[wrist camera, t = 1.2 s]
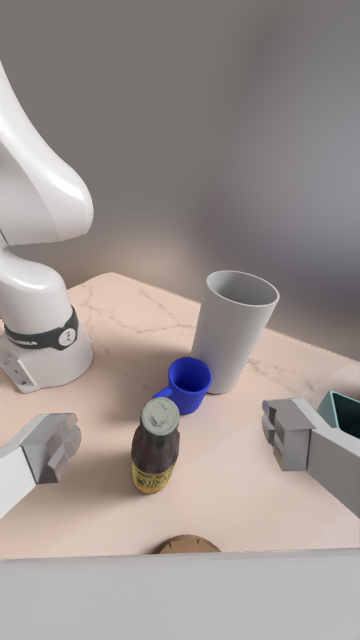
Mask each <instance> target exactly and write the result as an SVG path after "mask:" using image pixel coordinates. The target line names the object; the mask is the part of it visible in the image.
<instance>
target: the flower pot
mask: <svg viewBox="0 0 360 640" xmlns="http://www.w3.org/2000/svg"><path fill="white" fill-rule="evenodd" d="M317 413H318V414H319V415H320V416H321V417H322V418H323V420H324V421H325V422H326V423H327V424H328V425H329V426H330V427H331V428H337V429H339V430H341V431H343V432H345V433H347V434H349V435H351V436H353V437H355V438H357V439H359V440H360V401H357V400H355V399H352V398H350V397H347V396H345V395H342V394H340V393H337V392H335V391H332V390H330V391H329V392H328V394H327V395H326V397H325V398H324V399H323V401H322V402H321V404H320V405H319V408H318V411H317Z"/></svg>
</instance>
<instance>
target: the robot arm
mask: <svg viewBox="0 0 360 640" xmlns="http://www.w3.org/2000/svg"><path fill="white" fill-rule="evenodd" d="M92 220H93V203H92V199H91V196H90V193H89V191H88V189H87V187H86V185H85V183H84V182H83V181H82V179H81V178H80V176H79V175H78V174H77V173H76V172H75V171H74V170H73V169H72V168H71V167H70V166H69V165H67V164H66V163H65V162H64V161H63V160H62V159H60V158H59V157H58V156H57V155H56V154H55V153H54V152H53V150H51V148H50V147H49V146H48V145H47V144H46V142H45V141H44V140H43V139H42V138H41V136H40V135H39V134H38V132H37V131H36V129H35V128H34V127H33V126H32V124H31V122H30V121H29V119H28V118H27V116H26V114H25V112H24V111H23V109H22V108H21V105H20V104H19V102H18V100H17V98H16V96H15V94H14V92H13V90H12V88H11V85H10V83H9V81H8V79H7V76H6V74H5V71H4V69H3V66H2V64H1V61H0V317H1V318H0V319H2V320H3V321H2V322H4V328H5V332H4V333H3V334H2V335H1V336H0V346H1V348H0V367H1V368H2V369H3V371H4V372H5V373H6V374H7V375H8V377H9V378H10V379H11V380H12V382H13V383H14V384H15V385H16V386H17V388H18V389H19V390H20V391H21V392H22V393H29V392H32V391H35V390H38V389H40V388H47V387H56V386H60V385H63V384H66V383H69V382H71V381H73V380H75V379H76V378H78V377H79V376H81V375H82V374H83V373H84V372H85V371H86V370H87V369H88V368H89V366H90V365H91V363H92V360H93V350H92V347H91V345H92V341H93V339H92V337H91V336H90V335H87V333H86V330H85V328H84V326H83V323H82V321H81V320H80V319H78V316H77V313H76V311H75V309H74V307H73V306H72V305H71V303H70V300H69V297H68V293H67V290H66V287H65V284H64V281H63V279H62V277H61V276H60V275H59V274H58V273H57V272H56V271H55V270H53V269H51V268H50V267H47V266H45V265H43V264H40V263H36V262H32V261H28V260H25V259H22V258H19V257H17V256H15V255H14V254H12V253H10V252H9V251H8V250H7V249H6V248H5V247H7V246H9V245H20V244H33V243H46V242H58V241H63V240H67V239H70V238H74V237H77V236H80V235H84V234H86V233H87V231H88V230H89V228H90V226H91V224H92ZM25 383H26V384H25ZM23 384H24V385H23ZM262 409H263V410H264V412H265V414H264V416H263V417H262V425H263V431H264V434H265V437H266V439H267V441H268V443H269V444H271V445H272V446H273V447H274V455H275V457H276V459H277V461H278V463H279V465H280V467H281V469H282V471H307V473H309V474H310V475H311V476H312V477H313V478H314V479H315V480H316V481H318V482H319V483H320V484H321V485H322V486H323V487H324V488H326V489H327V490H328V491H329V492H330V493H331V494H332V495H333V496H335V497H336V498H337V499H338V500H339V501H340V502H341V503H342V504H344V505H345V506H346V507H347V508H348V509H349V510H350V511H352V512H353V513H354V514H355V515H356V516H357V517H358V518H359V519H360V440H359V439H357V438H355V437H353V436H351V435H349V434H347V433H345V432H343V431H341V430H339V429H337V428H331V427H330V426H329V425H328V424H327V423H326V422H325V421H324V420H323V418H322V417H321V416H320V415H319V414H318V413H317V412H316V411H315V410H314V409H313V408H312V407H311V406H310V405H309V404H308V403H307V401H306V400H305V399H304V398H302V397H294V398H288V399H287V398H286V399H272V400H263V405H262ZM76 422H77V417H76V414H74V413H53V414H40V415H37V416H35V417H34V418H33V419H32V420H31V421H30V422H29V423H28V424H27V425H26V426H25V427H24V428H23V429H22V430H21V431H20V432H19V433H18V434H17V435H16V436H15V437H14V438H13V439H12V440H11V441H10V442H9V443H8V444H7V445H6V446H5V447H2V448H0V519H1V518H2V517H3V516H4V515H5V514H6V513H7V512H8V511H9V510H11V509H12V508H13V507H14V506H15V505H16V504H17V503H18V502H19V501H20V500H21V499H22V498H23V497H25V496H26V495H27V494H28V493H29V492H30V491H31V490H32V489H33V488H34V487H35V486H36V484H45V483H57V482H59V481H60V479H61V477H62V475H63V474H64V472H65V470H66V469H67V467H68V465H69V459H70V458H71V457H72V456H73V455H74V454H75V453H76V452H77V450H78V448H79V446H80V442H81V430H80V428H79V427H78V426H76V425H75V424H76ZM0 640H360V548H338V549H307V550H275V551H243V552H211V553H179V554H148V555H118V556H88V557H57V558H26V559H0Z"/></svg>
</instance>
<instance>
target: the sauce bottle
mask: <svg viewBox="0 0 360 640" xmlns="http://www.w3.org/2000/svg"><path fill="white" fill-rule="evenodd" d="M179 418H180V415H179V410H178V407H177V406H176V404H175V403H174V402H173V401H171V400H170V399H168V398H165V397H157V398H154V399H151V400H150V401H148V402H147V403H146V405H145V406H144V407H143V410H142V413H141V418H140V425H139V427H138V428H137V429H136V431H135V434H134V437H133V441H132V450H131V459H132V477H133V481H134V483H135V485H136V487H137V488H138V489H139V491H141V492H143V493H146V494H155V493H157V492H159V491H160V490H162V489H163V488H164V487H165V486H166V484H167V482H168V480H169V478H170V476H171V473H172V470H173V468H174V465H175V463H176V460H177V457H178V453H179V438H180V434H179V432H178V430H177V428H178V424H179Z"/></svg>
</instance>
